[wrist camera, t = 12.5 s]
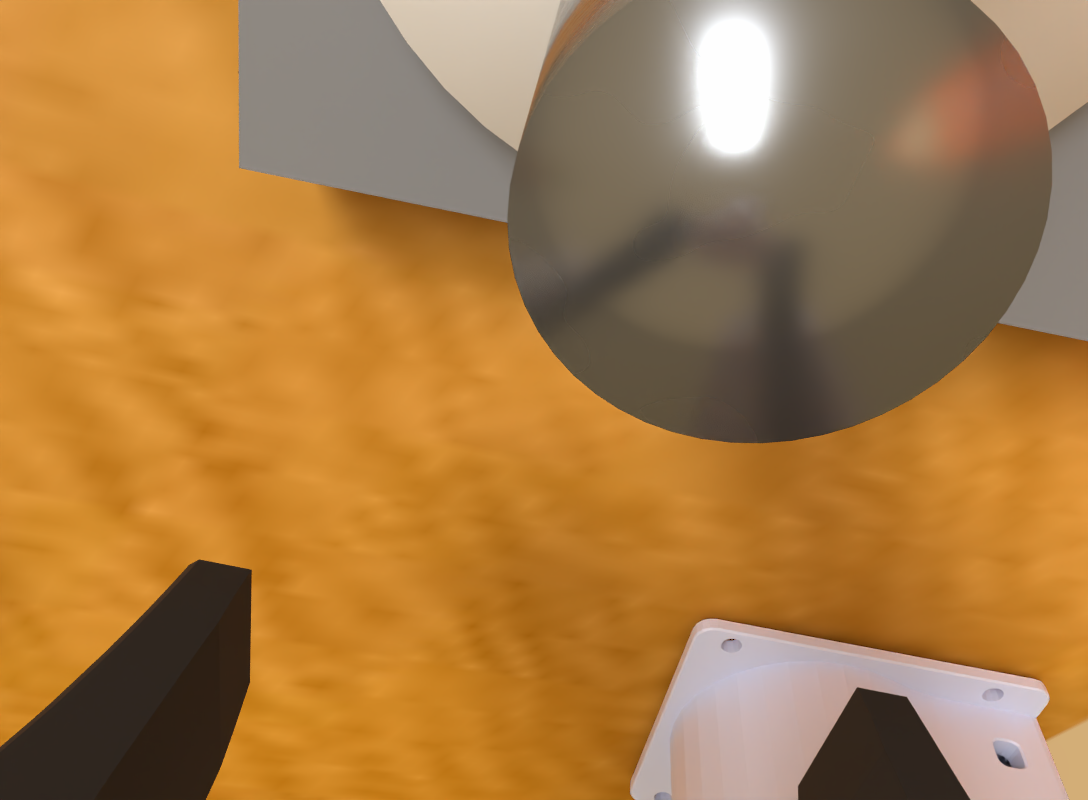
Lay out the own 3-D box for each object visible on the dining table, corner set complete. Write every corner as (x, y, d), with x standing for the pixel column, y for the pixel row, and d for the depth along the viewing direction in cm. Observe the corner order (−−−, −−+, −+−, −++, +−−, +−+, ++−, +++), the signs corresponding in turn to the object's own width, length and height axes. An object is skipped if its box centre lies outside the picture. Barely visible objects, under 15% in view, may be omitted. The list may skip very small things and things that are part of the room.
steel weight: (956, -72, 12) (1177, 60, 7) (798, 237, 15) (881, 493, 10) (619, -196, 12) (605, -145, 7) (516, 146, 14) (453, 366, 9)
